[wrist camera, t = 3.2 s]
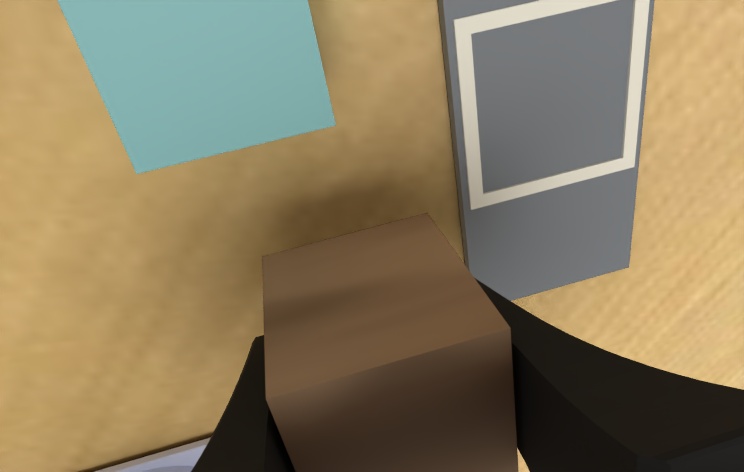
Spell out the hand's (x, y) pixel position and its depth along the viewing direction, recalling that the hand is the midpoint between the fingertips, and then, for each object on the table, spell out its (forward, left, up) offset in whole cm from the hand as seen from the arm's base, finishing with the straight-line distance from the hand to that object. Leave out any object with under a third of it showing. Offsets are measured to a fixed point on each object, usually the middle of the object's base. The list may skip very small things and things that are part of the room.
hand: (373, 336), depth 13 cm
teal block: (+8, +2, -6) cm, 10 cm away
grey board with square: (+3, -8, -6) cm, 11 cm away
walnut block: (0, 0, -2) cm, 2 cm away
